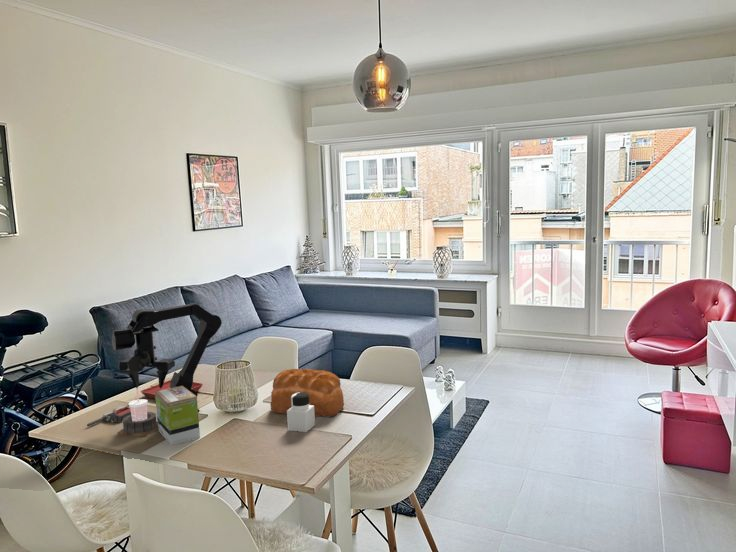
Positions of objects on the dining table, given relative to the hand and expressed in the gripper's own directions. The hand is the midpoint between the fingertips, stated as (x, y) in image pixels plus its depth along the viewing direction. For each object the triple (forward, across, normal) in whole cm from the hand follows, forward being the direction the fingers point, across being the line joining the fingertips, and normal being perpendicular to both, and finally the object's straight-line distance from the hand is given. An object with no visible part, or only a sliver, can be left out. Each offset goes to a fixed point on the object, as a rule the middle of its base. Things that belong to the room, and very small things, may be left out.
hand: (148, 387), depth 202 cm
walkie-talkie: (+13, -15, +2) cm, 20 cm away
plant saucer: (+14, -9, +31) cm, 35 cm away
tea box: (+13, +16, -10) cm, 23 cm away
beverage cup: (+12, 0, -7) cm, 14 cm away
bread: (+14, +53, +17) cm, 57 cm away
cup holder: (+13, 0, -7) cm, 15 cm away
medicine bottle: (+14, +56, -1) cm, 57 cm away
